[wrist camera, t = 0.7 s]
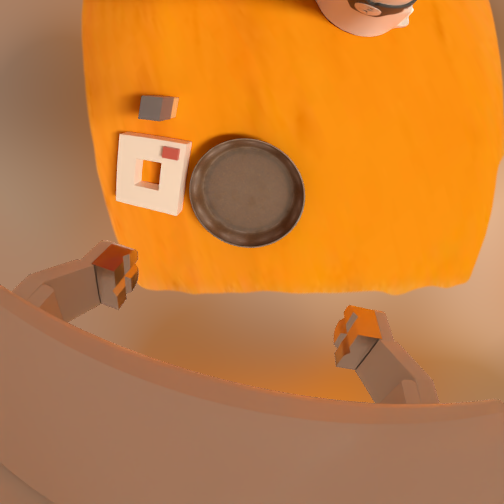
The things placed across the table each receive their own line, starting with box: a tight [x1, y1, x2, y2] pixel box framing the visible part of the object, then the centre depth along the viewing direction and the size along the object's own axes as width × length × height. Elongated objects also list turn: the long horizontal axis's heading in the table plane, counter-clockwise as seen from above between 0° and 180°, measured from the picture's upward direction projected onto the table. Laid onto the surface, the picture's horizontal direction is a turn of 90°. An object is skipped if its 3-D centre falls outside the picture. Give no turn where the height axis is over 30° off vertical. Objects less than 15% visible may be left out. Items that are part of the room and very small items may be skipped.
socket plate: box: [116, 132, 192, 216], centre depth 49 cm, size 14×14×4 cm
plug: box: [138, 95, 179, 121], centre depth 41 cm, size 4×4×7 cm
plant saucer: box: [189, 138, 305, 248], centre depth 50 cm, size 21×21×3 cm
